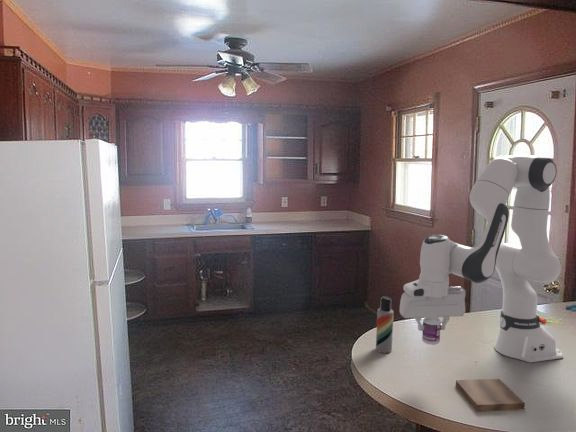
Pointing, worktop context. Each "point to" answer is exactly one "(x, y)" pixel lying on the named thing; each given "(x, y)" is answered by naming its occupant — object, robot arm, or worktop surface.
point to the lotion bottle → (384, 326)
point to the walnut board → (489, 395)
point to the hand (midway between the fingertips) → (431, 329)
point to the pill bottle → (431, 330)
